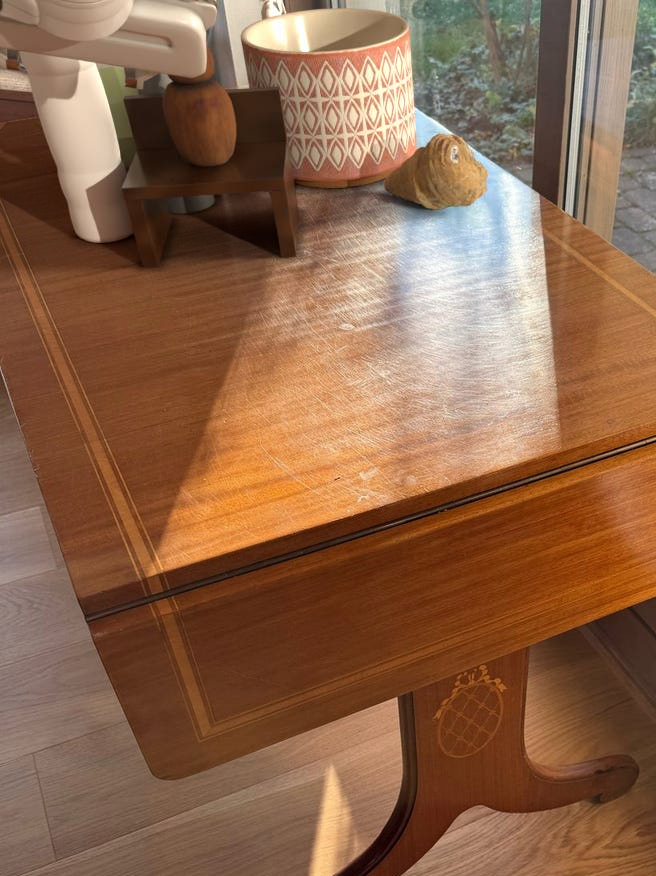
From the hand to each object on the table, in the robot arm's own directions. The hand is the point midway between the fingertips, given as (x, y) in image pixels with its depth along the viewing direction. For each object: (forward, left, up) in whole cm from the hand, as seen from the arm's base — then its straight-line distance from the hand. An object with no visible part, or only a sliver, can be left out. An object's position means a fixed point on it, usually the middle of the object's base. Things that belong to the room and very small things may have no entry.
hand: (72, 70), depth 81 cm
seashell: (+31, +20, -21) cm, 43 cm away
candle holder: (+2, +27, -21) cm, 34 cm away
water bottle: (-6, +20, -21) cm, 29 cm away
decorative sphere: (-7, +40, -21) cm, 45 cm away
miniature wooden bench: (+7, +16, -21) cm, 27 cm away
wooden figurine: (+7, +15, -13) cm, 21 cm away
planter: (+20, +36, -21) cm, 46 cm away
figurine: (+11, +52, -21) cm, 57 cm away
